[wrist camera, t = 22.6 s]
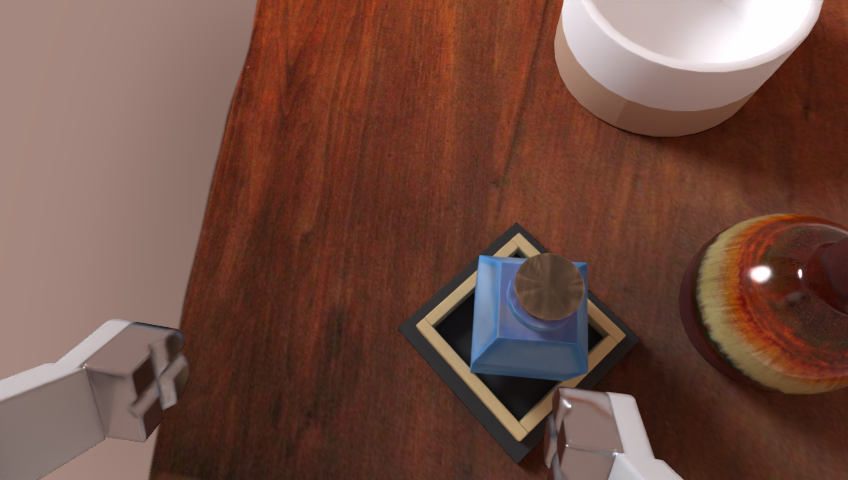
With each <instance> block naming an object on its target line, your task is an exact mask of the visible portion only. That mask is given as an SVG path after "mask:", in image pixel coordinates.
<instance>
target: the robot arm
mask: <svg viewBox="0 0 848 480" xmlns="http://www.w3.org/2000/svg"><path fill="white" fill-rule="evenodd" d="M185 345H186V344H185V339H184V335H183V332H181V331H180V330H178V329H174V328H168V327H163V326H157V325H151V324H146V323H140V322H132V321H126V320H120V319H113V320H109V321H107V322H106V323H105V324H103V325H102V326H101V327H100V328H99V329H97V330H96V331H95V332H94V333H92V334H91V335H90V336H89V337H87V338H86V339H85V340H84V341H82V342H81V343H80V344H79V345H78V346H77V347H75V348H74V349H73V350H71V351H70V352H69V353H68V354H66V355H65V356H64V357H63V358H61V359H60V360H59V361H58V362H57V363H55V364H53V363H46V364H43V365H41V366H38V367H35V368H32V369H29V370H27V371H24V372H21V373H18V374H16V375H13V376H10V377H7V378H5V379H2V380H0V480H39V479H41V478H43V477H44V476H46V475H47V474H49V473H51V472H52V471H54V470H56V469H57V468H59V467H60V466H62V465H64V464H66V463H67V462H69V461H70V460H72V459H74V458H75V457H77V456H79V455H80V454H82V453H84V452H85V451H87V450H88V449H90V448H92V447H93V446H95V445H97V444H98V443H100V442H101V441H103V440H105V437H108V438H115V439H122V440H129V441H137V442H145V441H146V440H147V439H148V437H149V436H150V435H151V434H152V432H153V431H154V430H155V429H156V427H157V426H158V425H159V424H160V423H161V421H162V420H163V419H164V416H163V410H164V409H166V408H168V407H170V406H172V405H174V404H176V403H177V401H178V400H179V399H180V397H181V396H182V395H183V393H184V391H185V389H186V386H187V384H188V381H189V373H190V368H189V362H188V360H187V359H186V358H185V356H184V355H183V354H182V353H181V350H182V349H183V348H184V346H185ZM552 409H553V413H552V414H550V415H549V416H548V417H547V422H546V427H545V434H544V462H545V464H546V466H547V467H548V468H549V473H548V477H547V480H683V479H682V478H681V477H680V476H679V475H678V474H677V473H676V472H675V471H674V470H673V469H672V468H671V467H669V466H668V465H667V464H666V463H665V462H664V461H663V460H657V459H655V457H654V454H653V451H652V448H651V445H650V442H649V439H648V436H647V433H646V430H645V427H644V424H643V421H642V419H641V416H640V413H639V410H638V407H637V404H636V401H635V398H634V397H633V396H632V395H628V394H620V393H612V392H606V393H605V392H600V391H593V390H586V389H579V388H572V387H565V386H558V385H556V387H555V389H554V392H553V396H552Z"/></svg>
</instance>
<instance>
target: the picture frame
mask: <svg viewBox="0 0 848 480" xmlns="http://www.w3.org/2000/svg"><path fill="white" fill-rule="evenodd" d="M543 253H549V252H548V251H547V250H546V249H544V248H543V247H542V246H541V245H540V244H539V243H538V242H537V241H536V240H535V239H534V238H533V237H532V236H531V235H530V234H529V233H528V232H527V231H526V230H524V229H523V228H522V227H521V226H520V225H519V224H518V223H517V222H516V223H515V224H514V225H513V226H511V227H510V228H509V229H508V230H507V231H506V232H505V233H504V234H502V235H501V236H500V237H499V238H498V239H497V240H496V241H495V242H494V243H492V244H491V245H490V246H489V247H488V248H487V249H486V250H485V251H483V252H482V253H481V254H480V255H484V256H498V257H511V258H525V259H528V258H530V257H532V256H535V255H537V254H543ZM480 255H479V256H480ZM479 256H478V257H477V258H476V259H475V260H473V261H472V262H471V263H470V264H469V265H468V266H467V267H466V268H464V269H463V270H462V271H461V272H460V273H459V274H458V275H457V276H455V277H454V278H453V279H452V280H451V281H450V282H449V283H448V284H447V285H445V286H444V287H443V288H442V289H441V290H440V291H439V292H438V293H436V294H435V295H434V296H433V297H432V298H431V299H430V300H429V301H427V302H426V303H425V304H424V305H423V306H422V307H421V308H420V309H419V310H417V311H416V312H415V313H414V314H413V315H412V316H411V317H410V318H408V319H407V320H406V321H405V322H404V323H403V324H402V325H401V326H399V327H398V329H399V331H400V332H401V333H402V334H403V335H404V336H405V338H406V339H407V340H408V341H409V342H410V343H411V344H412V346H413V347H414V348H415V349H416V350H417V351H418V352H419V354H420V355H421V356H422V357H423V358H424V359H425V360H426V362H427V363H428V364H429V365H430V366H431V367H432V368H433V370H434V371H435V372H436V373H437V374H438V375H439V376H440V378H441V379H442V380H443V381H444V382H445V383H446V384H447V385H448V387H449V388H450V389H451V390H452V391H453V392H454V393H455V395H456V396H457V397H458V398H459V399H460V400H461V401H462V403H463V404H464V405H465V406H466V407H467V408H468V409H469V411H470V412H471V413H472V414H473V415H474V416H475V417H476V419H477V420H478V421H479V422H480V423H481V424H482V425H483V427H484V428H485V429H486V430H487V431H488V432H489V433H490V434H491V436H492V437H493V438H494V439H495V440H496V441H497V442H498V444H499V445H500V446H501V447H502V448H503V449H504V450H505V452H506V453H507V454H508V455H509V456H510V457H511V458H512V460H513V461H514V462H515V463H516V464H518V463H519V462H520V461H521V460H522V459H523V458H524V457H525V456H526V455H527V454H528V453H529V452H530V451H531V450H532V449H533V448H534V447H535V446H536V445H537V444H538V443H539V442H540V441H541V440H542V439H543V438H544V434H545V427H546V422H547V417H548V416H549V415H550V414H552V413H553V409H552V396H553V392H554V389H555V387H556V385H558V386H565V387H572V388H579V389H586V390H591V389H592V388H593V387H594V386H595V385H596V384H597V383H598V382H599V381H600V380H601V379H602V378H603V377H604V376H605V375H606V374H607V373H608V372H609V371H610V370H611V369H612V368H613V367H614V366H615V365H616V364H617V363H618V362H619V361H620V360H621V359H622V358H623V357H624V356H625V355H626V354H627V353H628V352H629V351H630V350H631V349H632V348H633V347H634V346H635V345H636V344H637V343H638V342H639V341H640V339H639V338H638V337H637V336H636V335H635V334H634V333H633V332H632V331H631V330H630V329H629V328H628V327H627V326H626V325H624V324H623V323H622V322H621V321H620V320H619V319H618V318H617V317H616V316H615V315H614V314H613V313H612V312H611V311H610V310H609V309H608V308H607V307H606V306H604V305H603V304H602V303H601V302H600V301H599V300H598V299H597V298H596V297H595V296H594V295H593V294H592V293H591V292H590V291H589V290H588V289H587V297H588V373H587V374H584V375H581V376H578V377H575V378H572V379H570V380H567V381H559V380H548V379H537V378H526V377H515V376H504V375H494V374H483V373H472V372H470V365H471V349H472V334H473V318H474V302H475V287H476V277H477V270H478V263H479Z"/></svg>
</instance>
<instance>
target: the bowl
mask: <svg viewBox="0 0 848 480" xmlns="http://www.w3.org/2000/svg"><path fill="white" fill-rule="evenodd" d="M822 3H823V0H564V3H563V7H562V11H561V15H560V19H559V23H558V27H557V32H556V37H555V42H554V46H555V60H556V63H557V66H558V70H559V73H560V76H561V78H562V79H563V81H564V83H565V85H566V87H567V88H568V90H569V91H570V93H571V94H572V95H573V96H574V97H575V98H576V100H577V101H578V102H579V103H580V104H581V105H582V106H583V107H585V108H586V109H587V110H588V111H590V112H591V113H592V114H593V115H595V116H596V117H598V118H600V119H602V120H603V121H605V122H607V123H609V124H611V125H613V126H615V127H618V128H621V129H624V130H627V131H629V132H632V133H637V134H643V135H649V136H654V137H677V136H683V135H689V134H695V133H698V132H701V131H704V130H706V129H709V128H712V127H715V126H717V125H718V124H720V123H722V122H723V121H725V120H727V119H728V118H730V117H732V116H733V115H734V114H735V113H736V112H737V111H738V110H739V109H740V108H741V107H742V106H743V105H744V104H745V103H746V102H747V101H748V100H749V99H750V98H751V97H752V95H753V94H754V93H755V92H756V91H757V90H758V89H759V88H760V87H761V86H762V85H763V83H764V82H765V81H766V80H767V79H768V78H769V77H771V75H772V74H773V73H774V72H775V71H776V70H777V69H778V68H779V67H780V66H781V65H782V63H783V62H784V61H785V60H786V59H787V58H788V57H789V56H790V55H791V54H792V53H793V51H794V50H795V49H796V48H797V47H798V46H799V45H800V44H801V43H802V42H803V41H804V39H805V38H806V37H807V36H808V34H809V33H810V31H811V30H812V28H813V26H814V25H815V23H816V21H817V20H818V17H819V13H820V10H821V6H822Z"/></svg>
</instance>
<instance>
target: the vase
mask: <svg viewBox="0 0 848 480" xmlns="http://www.w3.org/2000/svg"><path fill="white" fill-rule="evenodd" d="M679 305H680V314H681V320H682V323H683V326H684V328H685V331H686V333H687V335H688V337H689V339H690V341H691V342H692V344H693V345H694V347H695V348H696V349H697V351H698V352H699V353H700V354H701V355H702V356H703V357H704V359H705V360H706V361H707V362H709V363H710V364H711V365H712V366H714V367H715V368H716V369H717V370H718V371H720V372H722V373H723V374H725V375H726V376H728V377H730V378H731V379H733V380H736V381H738V382H740V383H742V384H745V385H747V386H750V387H753V388H756V389H760V390H763V391H767V392H772V393H780V394H787V395H812V394H819V393H825V392H830V391H835V390H838V389H841V388H843V387H846V386H848V228H846V227H845V226H843V225H841V224H838V223H835V222H832V221H830V220H827V219H823V218H819V217H815V216H811V215H803V214H792V213H786V214H770V215H764V216H759V217H754V218H750V219H748V220H745V221H742V222H739V223H736V224H734V225H732V226H730V227H728V228H727V229H725V230H723V231H721V232H720V233H718V234H717V235H715V236H714V237H713V238H712V239H711V240H709V241H708V242H707V243H706V244H705V245H704V246H703V247H702V248H701V249H700V250H699V252H698V253H697V254H696V255H695V256H694V258H693V259H692V261H691V263H690V264H689V266H688V268H687V270H686V272H685V275H684V278H683V280H682V284H681V289H680V296H679Z"/></svg>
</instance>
